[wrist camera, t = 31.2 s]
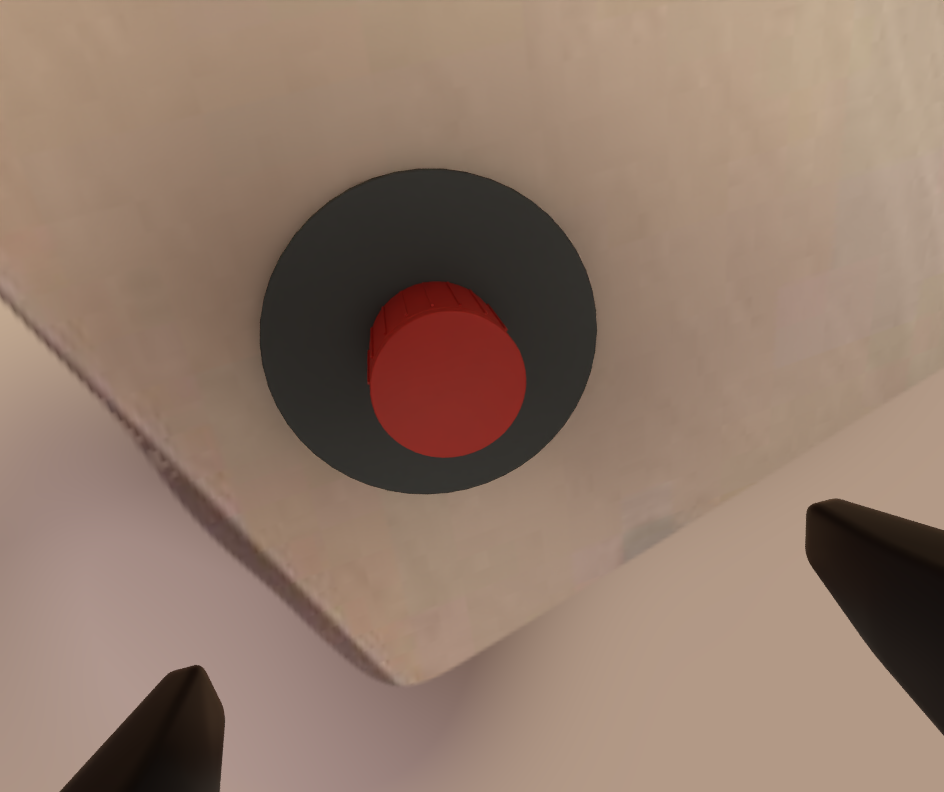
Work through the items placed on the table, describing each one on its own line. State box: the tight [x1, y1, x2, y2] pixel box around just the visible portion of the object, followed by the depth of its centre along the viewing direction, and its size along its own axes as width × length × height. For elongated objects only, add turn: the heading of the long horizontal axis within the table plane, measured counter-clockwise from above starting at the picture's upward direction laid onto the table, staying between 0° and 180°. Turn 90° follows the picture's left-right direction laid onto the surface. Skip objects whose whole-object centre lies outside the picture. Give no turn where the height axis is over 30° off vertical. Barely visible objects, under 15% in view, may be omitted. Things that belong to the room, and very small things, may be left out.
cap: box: [367, 281, 526, 458], centre depth 19 cm, size 4×4×4 cm
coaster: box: [260, 169, 597, 494], centre depth 21 cm, size 11×11×1 cm
